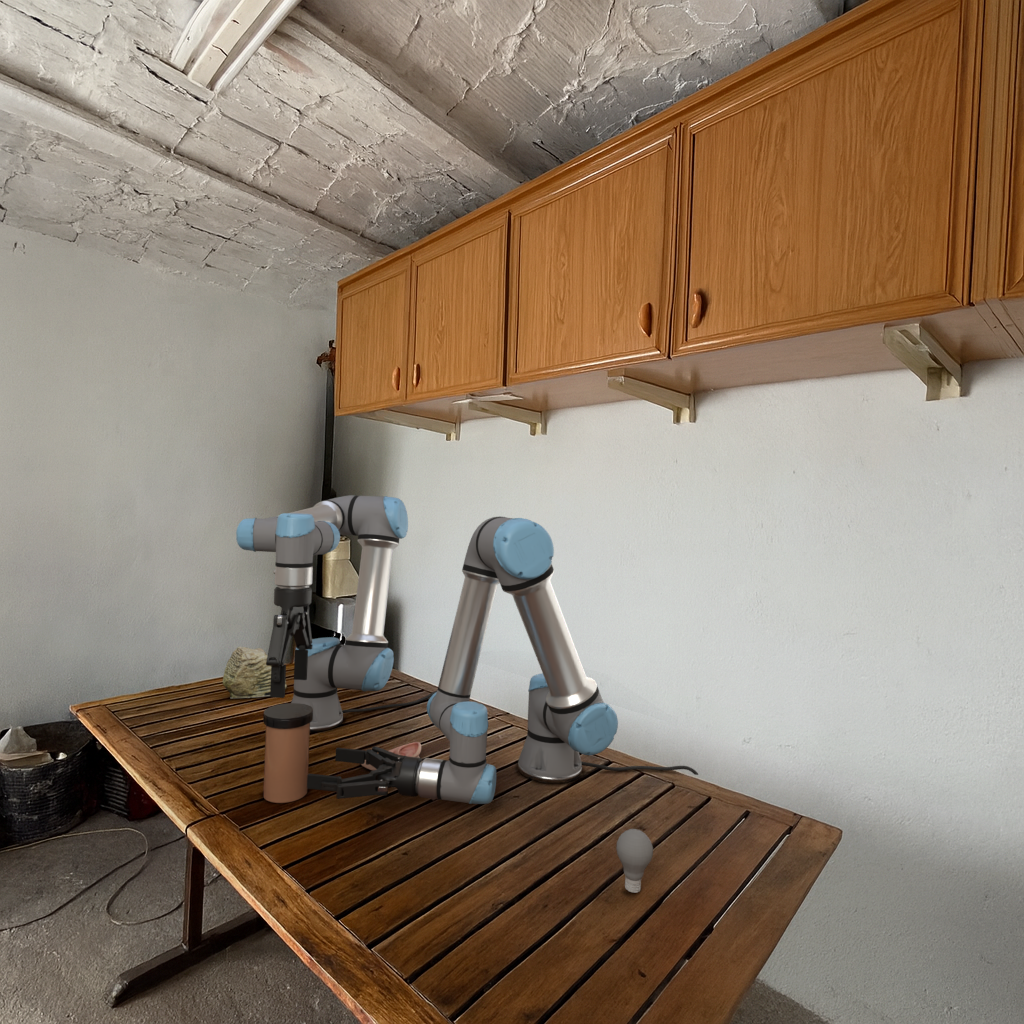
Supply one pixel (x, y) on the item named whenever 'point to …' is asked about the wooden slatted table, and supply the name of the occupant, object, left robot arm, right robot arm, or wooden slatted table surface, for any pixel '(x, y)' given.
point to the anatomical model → (402, 752)
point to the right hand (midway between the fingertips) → (322, 766)
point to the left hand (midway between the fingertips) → (289, 687)
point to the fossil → (248, 674)
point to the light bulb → (634, 857)
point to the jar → (286, 763)
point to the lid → (288, 715)
